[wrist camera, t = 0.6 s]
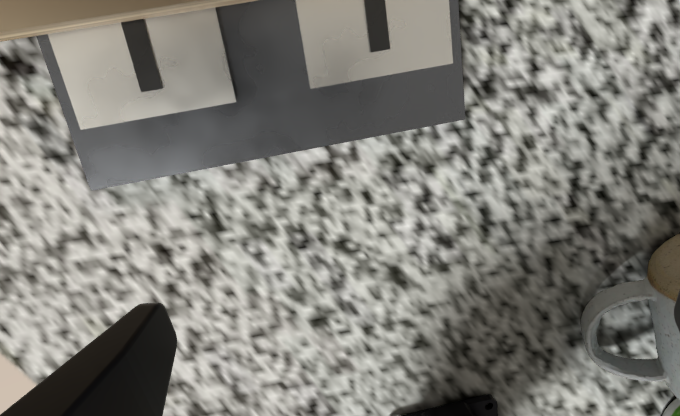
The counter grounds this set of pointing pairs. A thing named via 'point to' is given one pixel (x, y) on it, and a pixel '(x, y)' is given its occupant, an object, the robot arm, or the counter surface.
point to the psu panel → (252, 82)
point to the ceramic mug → (661, 291)
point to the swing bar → (87, 13)
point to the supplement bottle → (673, 409)
